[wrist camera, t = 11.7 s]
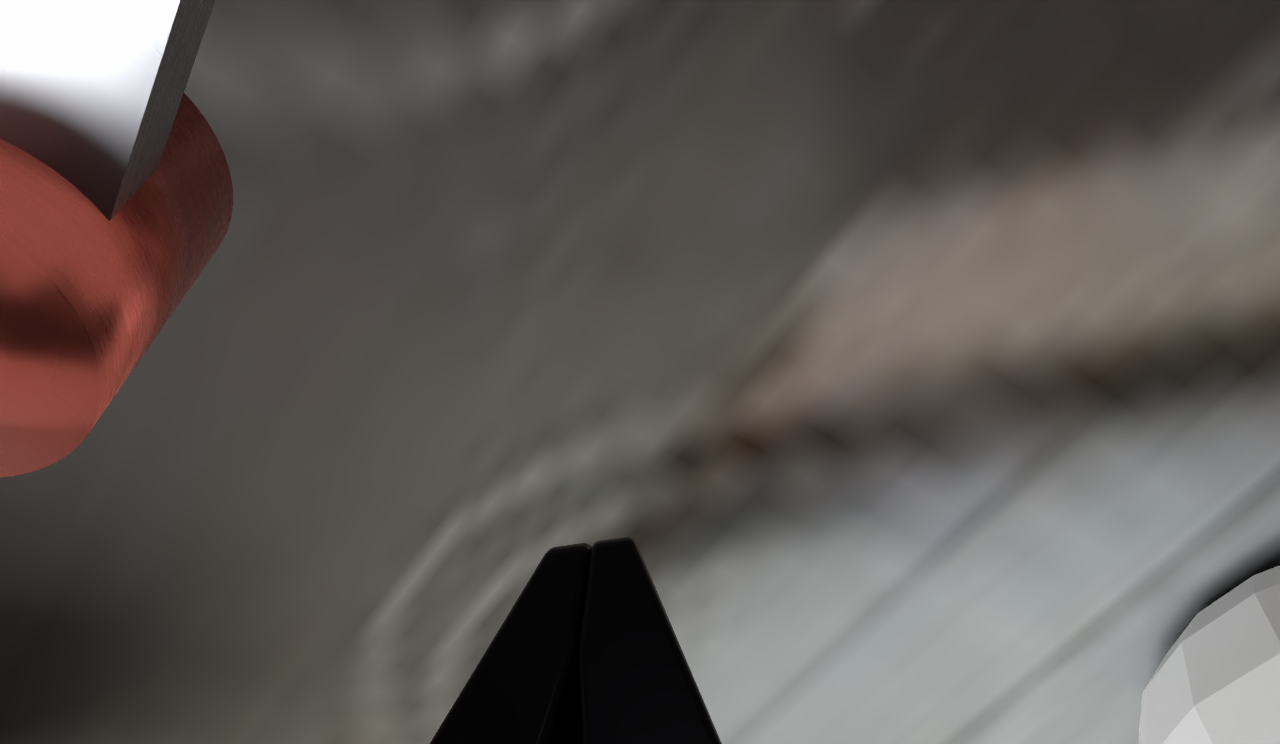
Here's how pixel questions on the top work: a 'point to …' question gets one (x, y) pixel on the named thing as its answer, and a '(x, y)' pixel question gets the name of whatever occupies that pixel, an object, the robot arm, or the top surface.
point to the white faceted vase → (1221, 673)
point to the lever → (95, 205)
